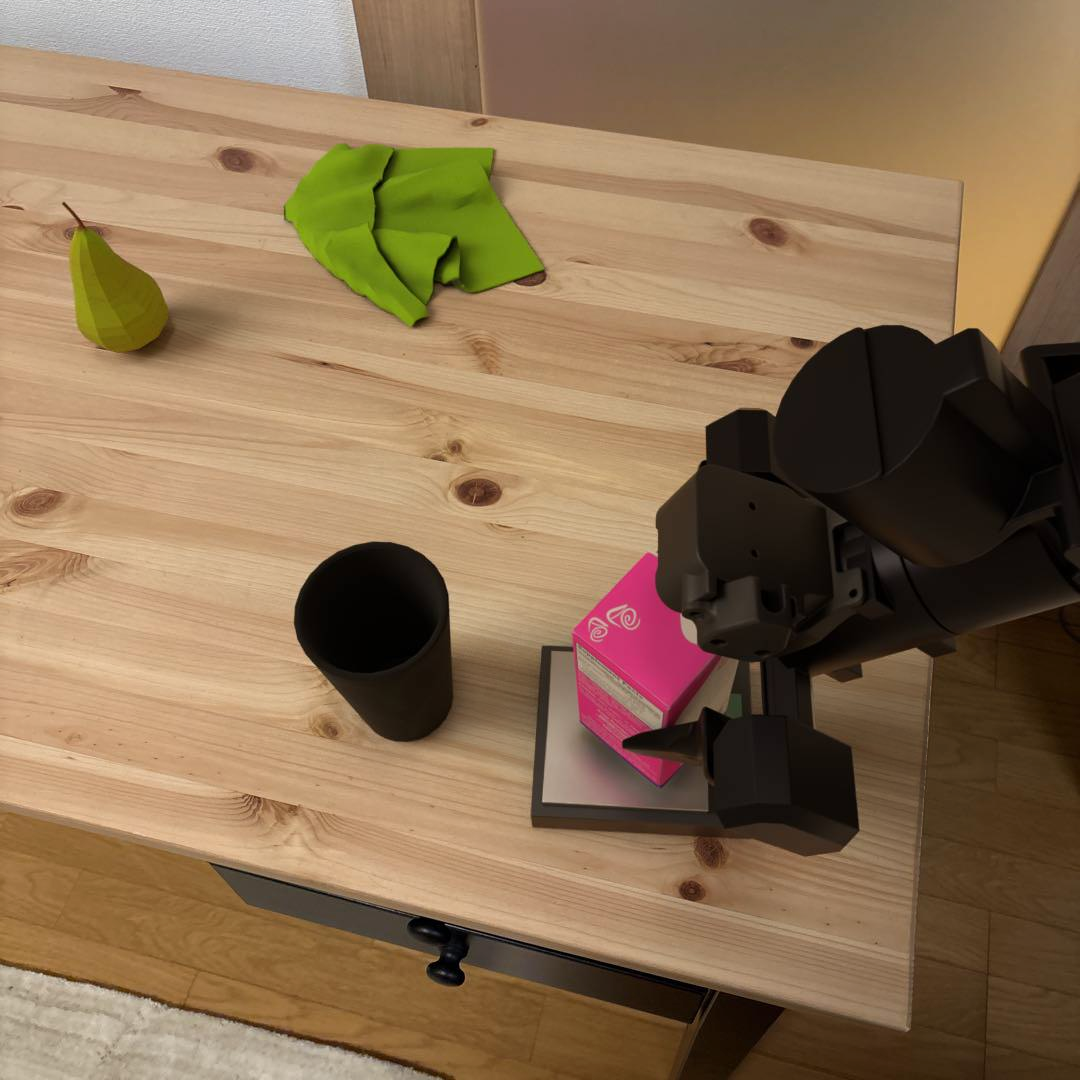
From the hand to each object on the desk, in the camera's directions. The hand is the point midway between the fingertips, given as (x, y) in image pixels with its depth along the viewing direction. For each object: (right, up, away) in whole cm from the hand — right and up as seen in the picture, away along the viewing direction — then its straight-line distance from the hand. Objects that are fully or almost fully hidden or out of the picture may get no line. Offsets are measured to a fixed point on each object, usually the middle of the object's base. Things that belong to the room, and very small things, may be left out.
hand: (629, 665), depth 48 cm
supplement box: (+2, -4, +6) cm, 7 cm away
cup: (-12, -3, +12) cm, 17 cm away
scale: (+2, -6, +10) cm, 12 cm away
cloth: (-14, +30, +32) cm, 46 cm away
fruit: (-34, +21, +27) cm, 49 cm away
